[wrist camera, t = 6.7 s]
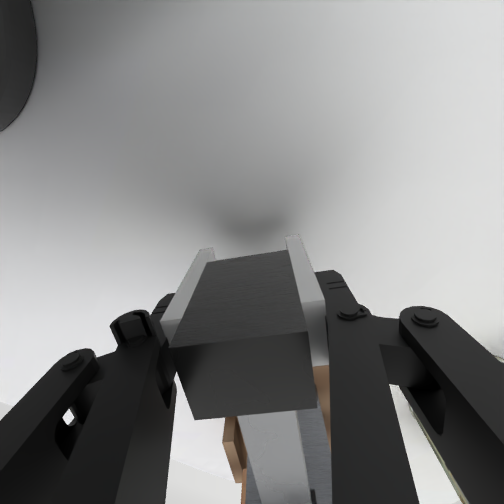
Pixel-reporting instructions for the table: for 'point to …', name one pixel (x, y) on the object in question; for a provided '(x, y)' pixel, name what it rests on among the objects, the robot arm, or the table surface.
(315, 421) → the bearing blocks
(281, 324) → the shaft
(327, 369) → the tray
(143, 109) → the table surface
